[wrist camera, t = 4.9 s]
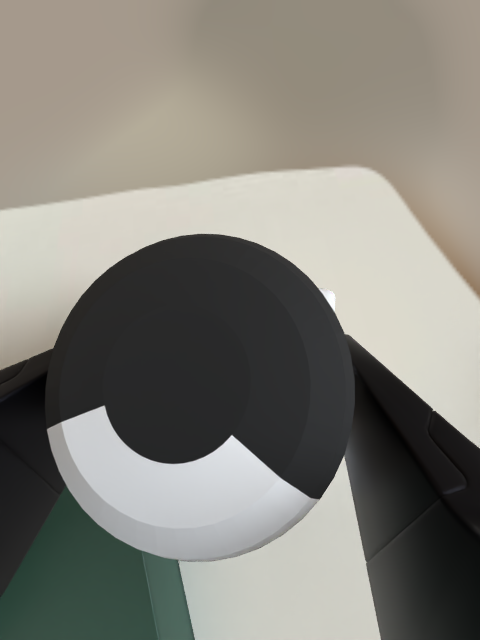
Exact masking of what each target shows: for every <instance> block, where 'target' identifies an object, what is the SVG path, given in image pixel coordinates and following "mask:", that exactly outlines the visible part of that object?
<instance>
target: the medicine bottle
mask: <svg viewBox="0 0 480 640" xmlns="http://www.w3.org/2000/svg"><path fill="white" fill-rule="evenodd" d="M334 310H335V295H334V293H333V292H332V291H331V290H328V289H322V288H317V286H316V285H315V284H314V283H313V282H312V281H311V280H310V278H309V277H308V276H307V275H305V274H304V273H303V272H302V271H301V270H300V269H299V268H297V267H296V266H295V265H294V264H293V263H291V262H290V261H288V260H287V259H285V258H284V257H282V256H281V255H279V254H278V253H276V252H274V251H272V250H270V249H268V248H266V247H264V246H261V245H259V244H257V243H254V242H251V241H248V240H244V239H241V238H237V237H231V236H225V235H219V234H195V235H185V236H179V237H175V238H171V239H166V240H163V241H160V242H157V243H155V244H152V245H149V246H147V247H144V248H142V249H140V250H139V251H137V252H135V253H133V254H131V255H129V256H127V257H125V258H124V259H122V260H121V261H119V262H118V263H116V264H115V265H113V266H112V267H111V268H109V269H108V270H107V271H106V272H105V273H103V274H102V275H101V276H100V277H99V278H98V279H97V280H95V281H94V283H93V284H92V285H91V286H90V287H89V288H88V289H87V290H86V292H85V293H84V294H83V295H82V296H81V298H80V299H79V300H78V302H77V303H76V305H75V306H74V308H73V309H72V310H71V312H70V314H69V316H68V317H67V319H66V321H65V323H64V325H63V327H62V329H61V331H60V333H59V336H58V338H57V341H56V343H55V346H54V349H53V353H52V356H51V360H50V364H49V368H48V374H47V381H46V388H45V415H46V426H47V432H48V437H49V441H50V446H51V450H52V453H53V456H54V459H55V461H56V464H57V467H58V470H59V472H60V474H61V476H62V478H63V480H64V481H65V483H66V485H67V487H68V489H69V491H70V492H71V494H72V495H73V496H74V498H75V499H76V500H77V502H78V503H79V505H80V506H81V507H82V509H83V510H84V511H85V512H86V513H87V514H88V515H89V516H90V517H91V518H92V519H93V520H94V521H95V522H96V523H97V524H98V525H99V526H101V527H102V528H103V529H105V530H106V531H107V532H109V533H110V534H111V535H113V536H114V537H115V538H117V539H119V540H121V541H123V542H125V543H127V544H128V545H130V546H132V547H134V548H136V549H139V550H142V551H145V552H148V553H151V554H154V555H157V556H160V557H163V558H168V559H175V560H181V561H188V562H192V561H216V560H221V559H227V558H232V557H237V556H240V555H242V554H245V553H248V552H251V551H253V550H256V549H259V548H261V547H263V546H264V545H266V544H268V543H270V542H271V541H273V540H275V539H277V538H278V537H280V536H282V535H283V534H285V533H286V532H287V531H288V530H289V529H291V528H292V527H293V526H294V525H296V524H297V523H298V522H299V521H300V520H302V519H303V518H304V517H305V515H306V514H307V513H308V512H309V511H310V510H311V509H312V508H313V507H314V505H315V504H316V503H317V502H318V501H319V500H320V498H321V497H322V495H323V494H324V492H325V491H326V489H327V488H328V486H329V484H330V483H331V481H332V480H333V478H334V476H335V474H336V472H337V470H338V467H339V465H340V463H341V461H342V459H343V456H344V454H345V451H346V447H347V444H348V440H349V436H350V433H351V429H352V422H353V414H354V407H355V379H354V372H353V366H352V359H351V354H350V351H349V347H348V344H347V341H346V338H345V334H344V331H343V329H342V327H341V325H340V323H339V321H338V319H337V316H336V314H335V312H334Z"/></svg>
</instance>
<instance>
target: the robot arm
mask: <svg viewBox="0 0 480 640" xmlns="http://www.w3.org/2000/svg"><path fill="white" fill-rule="evenodd" d="M345 338H346V341H347V344H348V347H349V351H350V354H351V359H352V366H353V372H354V379H355V407H354V414H353V422H352V429H351V433H350V436H349V440H348V444H347V447H346V451H345V454H344V455H345V460H346V465H347V470H348V475H349V480H350V485H351V490H352V495H353V500H354V505H355V510H356V515H357V520H358V525H359V530H360V535H361V540H362V545H363V550H364V555H365V560H366V562H367V563H366V566H367V571H368V576H369V581H370V586H371V591H372V596H373V601H374V606H375V611H376V616H377V621H378V626H379V631H380V636H381V640H480V448H478V447H477V446H476V445H475V444H473V443H472V442H471V441H470V440H468V439H467V438H466V437H465V436H464V435H463V434H461V433H460V432H459V431H458V430H457V429H456V428H454V427H453V426H452V425H451V424H450V423H448V422H447V421H446V420H445V419H444V418H443V417H442V416H441V415H439V414H438V413H437V412H436V411H433V409H432V408H431V407H430V406H429V405H428V404H427V403H426V402H425V401H423V400H422V399H421V398H420V397H419V396H418V395H417V394H415V393H414V392H413V391H412V390H411V389H410V388H409V387H407V386H406V385H405V384H404V383H403V382H402V381H401V380H400V379H398V378H397V377H396V376H395V375H394V374H393V373H392V372H390V371H389V370H388V369H387V368H386V367H385V366H384V365H383V364H381V363H380V362H379V361H378V360H377V359H376V358H375V357H373V356H372V355H371V354H370V353H369V352H368V351H367V350H366V349H364V348H363V347H362V346H361V345H360V344H359V343H358V342H356V341H355V340H354V339H353V338H352V337H351V336H349V335H346V334H345ZM53 349H54V348H53ZM53 349H50V350H48V351H46V352H43V353H41V354H38V355H36V356H34V357H31V358H30V359H29V360H28V359H27V360H24V361H22V362H19V363H17V364H15V365H12V366H10V367H7V368H5V369H3V370H0V598H1V596H2V595H3V593H4V592H5V590H6V589H7V587H8V585H9V584H10V582H11V580H12V579H13V577H14V575H15V573H16V572H17V570H18V568H19V566H20V565H21V563H22V561H23V560H24V558H25V556H26V554H27V553H28V551H29V549H30V547H31V546H32V544H33V542H34V541H35V539H36V537H37V535H38V534H39V532H40V530H41V528H42V527H43V525H44V523H45V521H46V520H47V518H48V516H49V515H50V513H51V511H52V509H53V508H54V506H55V504H56V503H57V501H58V499H59V497H60V494H61V493H62V492H63V490H64V488H65V487H66V483H65V481H64V480H63V478H62V476H61V474H60V472H59V470H58V467H57V464H56V461H55V459H54V456H53V453H52V450H51V446H50V441H49V437H48V432H47V426H46V415H45V388H46V381H47V374H48V368H49V364H50V360H51V356H52V353H53Z"/></svg>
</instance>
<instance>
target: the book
mask: <svg viewBox="0 0 480 640" xmlns="http://www.w3.org/2000/svg"><path fill="white" fill-rule="evenodd" d="M0 640H195V638H194V634H193V629H192V624H191V620H190V615H189V610H188V606H187V601H186V596H185V592H184V587H183V582H182V578H181V573H180V568H179V564H178V560H175V559H168V558H163V557H160V556H157V555H154V554H151V553H148V552H145V551H142V550H139V549H136V548H134V547H132V546H130V545H128V544H127V543H125V542H123V541H121V540H119V539H117V538H115V537H114V536H113V535H111V534H110V533H109V532H107V531H106V530H105V529H103V528H102V527H101V526H99V525H98V524H97V523H96V522H95V521H94V520H93V519H92V518H91V517H90V516H89V515H88V514H87V513H86V512H85V511H84V510H83V509H82V507H81V506H80V505H79V503H78V502H77V500H76V499H75V498H74V496H73V495H72V494H71V492H70V491H69V489H68V487H67V485H66V487H65V488H64V490H63V492H62V493H61V494H60V497H59V499H58V501H57V503H56V504H55V506H54V508H53V509H52V511H51V513H50V515H49V516H48V518H47V520H46V521H45V523H44V525H43V527H42V528H41V530H40V532H39V534H38V535H37V537H36V539H35V541H34V542H33V544H32V546H31V547H30V549H29V551H28V553H27V554H26V556H25V558H24V560H23V561H22V563H21V565H20V566H19V568H18V570H17V572H16V573H15V575H14V577H13V579H12V580H11V582H10V584H9V585H8V587H7V589H6V590H5V592H4V593H3V595H2V596H1V598H0Z"/></svg>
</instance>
